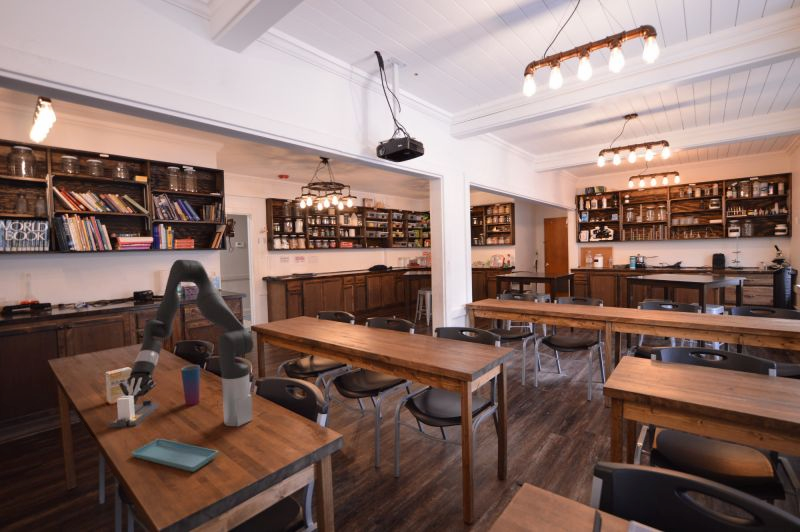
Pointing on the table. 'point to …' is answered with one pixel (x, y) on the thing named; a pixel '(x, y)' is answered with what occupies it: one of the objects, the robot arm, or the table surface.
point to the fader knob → (126, 407)
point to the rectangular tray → (175, 454)
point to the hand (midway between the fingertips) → (129, 406)
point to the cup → (191, 384)
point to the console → (136, 414)
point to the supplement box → (116, 383)
